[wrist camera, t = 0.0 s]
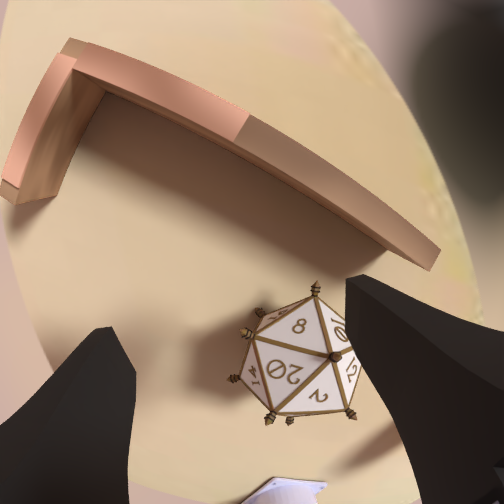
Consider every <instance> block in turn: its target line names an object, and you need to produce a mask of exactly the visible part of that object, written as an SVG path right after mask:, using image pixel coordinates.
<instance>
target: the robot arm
mask: <svg viewBox="0 0 504 504" xmlns="http://www.w3.org/2000/svg"><path fill="white" fill-rule="evenodd" d="M345 332H346V335H347V337H348V339H349V342H350V344H351V346H352V348H353V351H354V353H355V355H356V357H357V359H358V360H359V362H360V364H361V365H362V367H363V369H364V370H365V372H366V374H367V375H368V377H369V379H370V380H371V382H372V383H373V385H374V387H375V388H376V390H377V392H378V393H379V395H380V397H381V398H382V400H383V402H384V403H385V405H386V407H387V409H388V410H389V412H390V414H391V416H392V418H393V420H394V422H395V425H396V427H397V430H398V432H399V434H400V437H401V439H402V441H403V444H404V447H405V449H406V452H407V455H408V457H409V460H410V463H411V466H412V469H413V472H414V475H415V478H416V482H417V485H418V488H419V492H420V496H421V500H422V504H504V332H502V331H498V330H494V329H491V328H487V327H484V326H481V325H478V324H475V323H472V322H469V321H466V320H463V319H460V318H458V317H455V316H452V315H450V314H448V313H445V312H443V311H441V310H438V309H436V308H434V307H432V306H429V305H427V304H425V303H423V302H421V301H419V300H416V299H414V298H412V297H410V296H408V295H406V294H404V293H402V292H400V291H398V290H396V289H394V288H392V287H390V286H388V285H386V284H384V283H382V282H380V281H378V280H376V279H374V278H372V277H369V276H367V275H364V274H362V275H358V276H355V277H351V278H347V279H346V297H345ZM135 402H136V371H135V369H134V367H133V365H132V364H131V362H130V360H129V358H128V357H127V355H126V353H125V351H124V349H123V347H122V346H121V344H120V342H119V340H118V338H117V336H116V334H115V332H114V330H113V328H112V326H111V327H105V328H98V329H95V330H93V331H92V332H91V333H90V334H89V335H88V336H87V337H86V338H85V339H84V340H83V341H82V342H81V343H80V344H79V346H78V347H77V348H76V349H75V350H74V351H73V352H72V353H71V354H70V355H69V357H68V358H67V359H66V360H65V361H64V362H63V363H62V364H61V366H60V367H59V368H58V369H57V370H56V371H55V372H54V374H53V375H52V376H51V377H50V378H49V379H48V380H47V381H46V382H45V383H44V384H43V385H42V386H41V388H40V389H39V390H38V391H37V392H36V393H35V394H34V395H33V396H32V397H31V398H30V399H29V400H28V401H27V402H26V403H25V404H24V405H23V406H22V407H21V408H20V409H19V410H18V411H17V412H15V413H14V414H13V415H12V416H11V417H10V418H9V419H7V420H6V421H5V422H4V423H2V424H1V425H0V504H129V494H128V455H129V446H130V438H131V431H132V423H133V416H134V409H135ZM327 485H328V484H327V482H316V481H304V480H294V479H286V478H278V477H276V478H273V479H271V480H270V481H269V482H268V483H267V484H265V485H264V486H263V487H262V488H260V489H259V490H258V491H257V492H255V493H254V494H253V495H252V496H250V497H249V498H248V499H246V500H245V501H244V502H242V503H241V504H318V503H317V500H316V497H315V495H316V494H317V493H319V492H320V491H321V490H323V489H324V488H325V487H326V486H327Z"/></svg>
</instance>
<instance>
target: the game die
mask: <svg viewBox="0 0 504 504" xmlns="http://www.w3.org/2000/svg"><path fill="white" fill-rule="evenodd" d="M311 287H312V290H311V291H312V295H311V296H310V297H307V298H305V299H302V300H300V301H298V302H295V303H293V304H290V305H288V306H286V307H283V308H281V309H278V310H276V311H273V312H271V313H268V314H266V315H265V314H264V311H263V310H262V308H261V309H260V308H256V312H255V313H256V314H257V315H258V316H259V317H261V319H260V321H259V323H258V324H257V326H256V328H255V330H254V331H253V333H252V331H251V330H249V329H247V328H244V329H239V330H240V333H241V335H242V338H243V337H245V339H250V340H249V343H248V347H247V350H246V353H245V357H244V360H243V363H242V366H241V370H240V373H239V375H235V374H234V375H230V377H229V378H228V379H227V381H230V382H232V383H234V382H237V381H238V380H241V381H242V382H243V383H244V385H245V386H246V387H247V388H248V389H249V390H250V391H251V392H252V393H253V394H254V395H255V396H256V397H257V399H258V400H259V401H260V402H261V403H262V404H263V405H264V406H265V407H266V408H267V409H268V410H269V411H270V413H269V414H266V415H267V416H266V417H264V419H265V425H266V426H267V425H269V424H273V422H274V420H275V418H276V417H275V416H276V415H280V416H287V418H286V422H285V423H287V425H288V426H289V425H290V424H292V423H294V422H293V420H294V418H293V417H299V416H310V415H320V414H329V413H337V412H346V416H348V417H349V419H353V420H357V417H356V412H354V410H351V409H350V408H349V406H350V403H351V400H352V397H353V394H354V391H355V388H356V384H357V381H358V378H359V374H360V371H361V368H362V365H361V364H360V362H359V360H358V359H357V357H356V355H355V353H354V351H353V348H352V346H351V344H350V342H349V339H348V337H347V335H346V332H345V319H344V318H343V317H341V316H340V315H339V314H338V313H337V312H336V311H334V310H333V309H332V308H331V307H330V306H328V305H327V304H326V303H325V302H324V301H322V300H321V299H320V298H319V297H318V293H320V291H319V289H320V288H321V287H320V286H319V283H318V280H317V281H316V282H315V283H314V284H313V285H312V286H311Z"/></svg>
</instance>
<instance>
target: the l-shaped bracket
mask: <svg viewBox="0 0 504 504" xmlns="http://www.w3.org/2000/svg"><path fill="white" fill-rule="evenodd" d="M106 91H107V92H110V93H112V94H114V95H117V96H119V97H121V98H123V99H126V100H128V101H130V102H132V103H134V104H137V105H139V106H141V107H143V108H145V109H147V110H150V111H152V112H154V113H156V114H158V115H160V116H162V117H164V118H166V119H168V120H170V121H172V122H174V123H177V124H179V125H181V126H183V127H185V128H186V129H188V130H190V131H192V132H194V133H196V134H198V135H200V136H202V137H204V138H206V139H208V140H210V141H212V142H214V143H215V144H217V145H219V146H221V147H223V148H225V149H227V150H228V151H230V152H232V153H234V154H236V155H237V156H239V157H241V158H243V159H245V160H246V161H248V162H250V163H252V164H254V165H255V166H257V167H259V168H261V169H262V170H264V171H266V172H267V173H269V174H271V175H273V176H274V177H276V178H278V179H279V180H281V181H283V182H284V183H286V184H288V185H289V186H291V187H293V188H294V189H296V190H298V191H299V192H301V193H303V194H304V195H306V196H307V197H309V198H311V199H312V200H314V201H315V202H317V203H319V204H320V205H322V206H323V207H325V208H327V209H328V210H330V211H331V212H333V213H334V214H336V215H337V216H339V217H340V218H342V219H343V220H345V221H347V222H348V223H350V224H351V225H353V226H354V227H356V228H357V229H359V230H360V231H361V232H363V233H364V234H366V235H367V236H369V237H370V238H372V239H373V240H375V241H376V242H378V243H379V244H380V245H382V246H383V247H385V248H386V249H387V250H389V251H391V252H393V253H395V254H397V255H399V256H401V257H403V258H404V259H406V260H408V261H410V262H412V263H414V264H416V265H418V266H419V267H421V268H423V269H425V270H427V271H430V270H431V268H432V266H433V264H434V263H435V261H436V259H437V257H438V255H439V253H440V251H441V249H440V248H438V247H437V246H436V245H435V244H434V243H433V242H432V241H431V240H429V239H428V238H427V237H426V236H425V235H424V234H422V233H421V232H420V231H419V230H418V229H416V228H415V227H414V226H413V225H412V224H410V223H409V222H408V221H407V220H406V219H404V218H403V217H402V216H401V215H399V214H398V213H397V212H396V211H394V210H393V209H392V208H391V207H389V206H388V205H387V204H385V203H384V202H383V201H382V200H380V199H379V198H378V197H376V196H375V195H374V194H372V193H371V192H370V191H368V190H367V189H366V188H364V187H363V186H361V185H360V184H359V183H357V182H356V181H355V180H353V179H352V178H350V177H349V176H347V175H346V174H345V173H343V172H342V171H340V170H339V169H337V168H336V167H334V166H333V165H332V164H330V163H329V162H327V161H326V160H324V159H323V158H321V157H320V156H318V155H317V154H315V153H313V152H312V151H310V150H309V149H307V148H306V147H304V146H303V145H301V144H299V143H298V142H296V141H295V140H293V139H291V138H290V137H288V136H286V135H285V134H283V133H281V132H280V131H278V130H276V129H275V128H273V127H271V126H270V125H268V124H266V123H264V122H263V121H261V120H259V119H257V118H256V117H254V116H252V115H250V113H249V112H247V111H245V110H243V109H241V108H240V107H238V106H236V105H234V104H232V103H230V102H228V101H226V100H224V99H222V98H220V97H219V96H217V95H215V94H213V93H211V92H209V91H207V90H205V89H202V88H200V87H198V86H196V85H194V84H192V83H190V82H188V81H186V80H183V79H181V78H179V77H177V76H175V75H172V74H170V73H168V72H166V71H163V70H161V69H159V68H156V67H154V66H151V65H149V64H147V63H144V62H142V61H139V60H137V59H134V58H131V57H129V56H126V55H124V54H121V53H118V52H115V51H113V50H110V49H107V48H104V47H101V46H98V45H95V44H92V43H89V42H88V43H86V42H83V41H80V40H77V39H73V38H69V39H68V41H67V42H66V44H65V46H64V47H63V49H62V50H61V52H60V53H57V54H56V56H55V58H54V59H53V61H52V63H51V64H50V66H49V68H48V70H47V71H46V73H45V75H44V77H43V79H42V80H41V82H40V84H39V86H38V88H37V90H36V92H35V94H34V96H33V98H32V100H31V102H30V104H29V106H28V108H27V110H26V113H25V115H24V117H23V119H22V122H21V124H20V126H19V129H18V131H17V133H16V136H15V139H14V141H13V144H12V146H11V149H10V152H9V155H8V157H7V160H6V163H5V166H4V169H3V172H2V175H1V177H2V178H3V179H2V182H1V185H0V196H2V197H3V198H5V199H6V200H8V201H9V202H11V203H12V204H14V205H18V204H22V203H26V202H30V201H34V200H39V199H43V198H48V197H52V196H57V194H58V191H59V189H60V186H61V183H62V181H63V178H64V176H65V173H66V171H67V169H68V166H69V164H70V162H71V159H72V157H73V155H74V152H75V150H76V148H77V146H78V144H79V142H80V139H81V137H82V135H83V133H84V131H85V129H86V127H87V125H88V123H89V121H90V119H91V117H92V116H93V114H94V112H95V110H96V108H97V106H98V104H99V103H100V101H101V99H102V97H103V96H104V94H105V92H106Z"/></svg>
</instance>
